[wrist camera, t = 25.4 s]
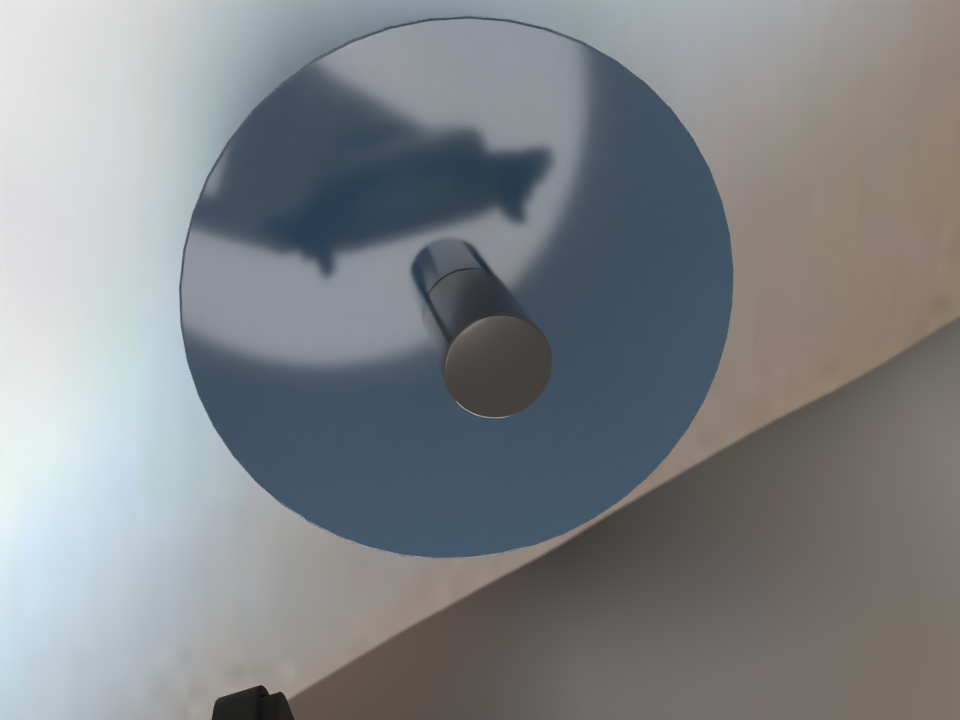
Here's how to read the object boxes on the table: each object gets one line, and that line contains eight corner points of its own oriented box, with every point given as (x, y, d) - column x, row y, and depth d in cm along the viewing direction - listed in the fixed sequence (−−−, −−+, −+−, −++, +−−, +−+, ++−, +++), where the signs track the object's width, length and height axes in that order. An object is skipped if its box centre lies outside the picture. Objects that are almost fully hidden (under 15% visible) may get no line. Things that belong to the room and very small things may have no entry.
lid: (63, 214, 26) (-16, 260, 20) (572, -100, 25) (645, -147, 19) (377, 625, 31) (387, 753, 26) (794, 378, 31) (902, 452, 25)
